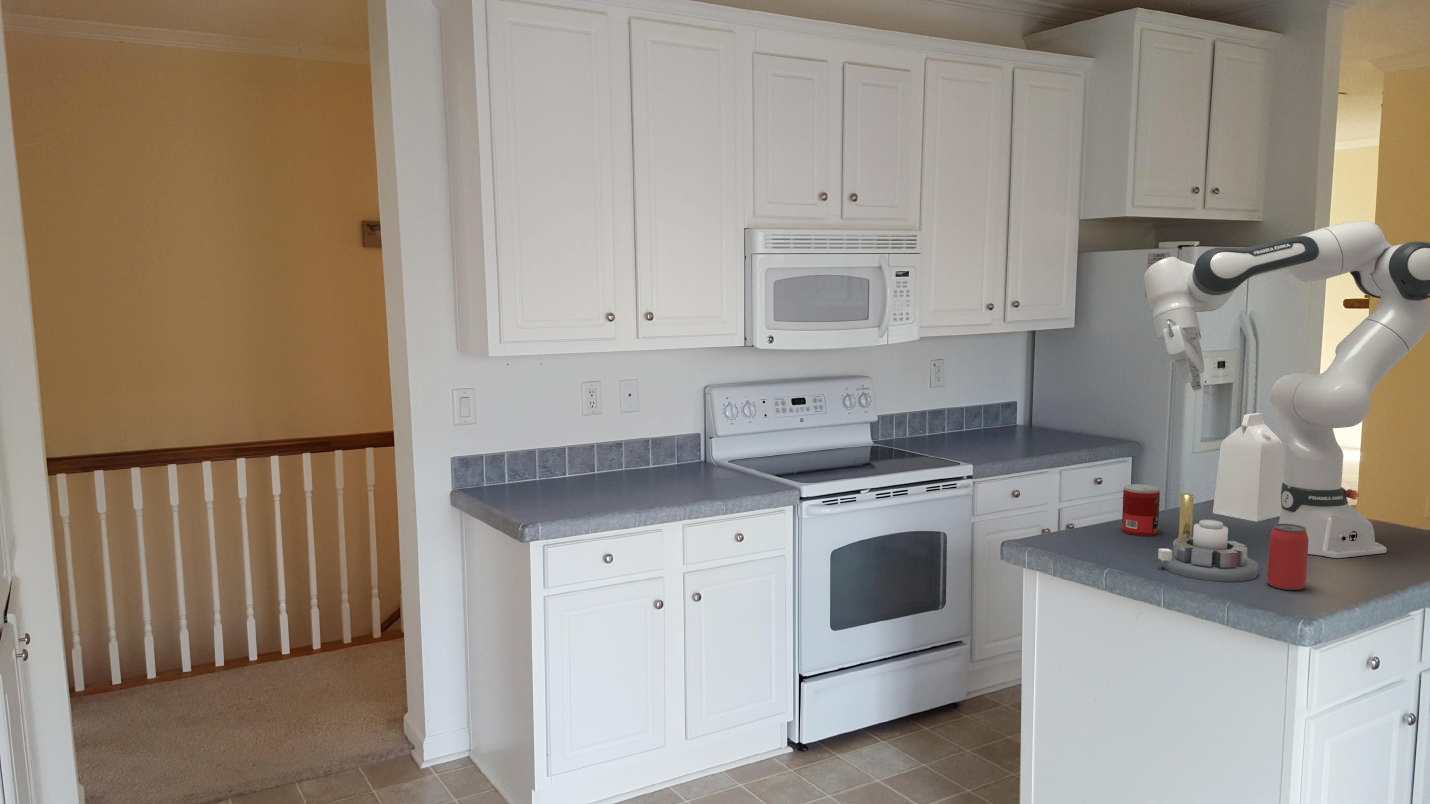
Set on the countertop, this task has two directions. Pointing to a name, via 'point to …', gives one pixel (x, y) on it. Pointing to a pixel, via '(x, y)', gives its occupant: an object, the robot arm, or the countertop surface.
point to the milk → (1250, 472)
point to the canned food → (1140, 509)
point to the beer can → (1288, 557)
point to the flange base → (1212, 571)
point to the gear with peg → (1201, 556)
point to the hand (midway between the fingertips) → (1193, 386)
